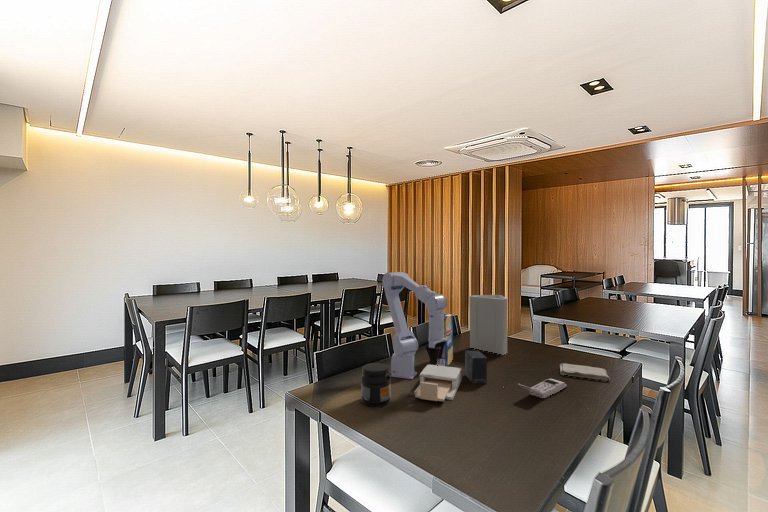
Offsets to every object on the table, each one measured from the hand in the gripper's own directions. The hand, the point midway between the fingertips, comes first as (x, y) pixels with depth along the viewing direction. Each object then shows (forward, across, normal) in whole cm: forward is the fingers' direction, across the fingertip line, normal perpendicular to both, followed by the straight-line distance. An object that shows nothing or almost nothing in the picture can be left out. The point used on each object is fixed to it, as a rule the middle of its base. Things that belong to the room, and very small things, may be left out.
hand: (436, 361), depth 137 cm
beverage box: (+10, +31, +5) cm, 33 cm away
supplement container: (+10, -20, +17) cm, 28 cm away
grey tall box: (+10, +63, -15) cm, 66 cm away
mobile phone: (+10, +9, -38) cm, 40 cm away
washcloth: (+11, +37, -54) cm, 66 cm away
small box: (+10, +14, -13) cm, 22 cm away
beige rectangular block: (+9, -7, -1) cm, 11 cm away
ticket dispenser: (+10, +1, -1) cm, 10 cm away
